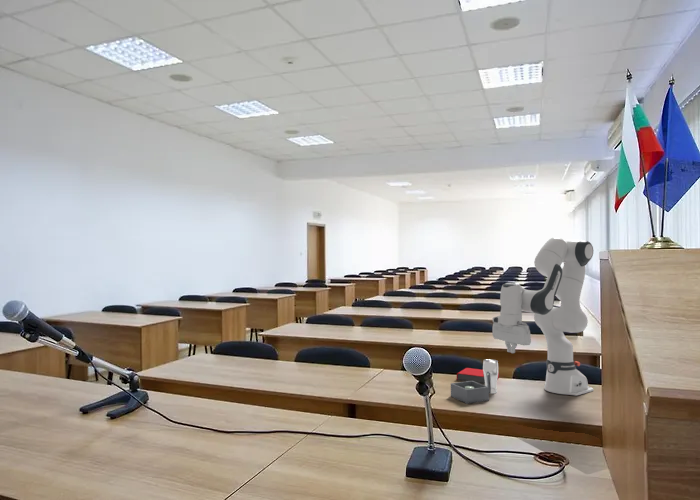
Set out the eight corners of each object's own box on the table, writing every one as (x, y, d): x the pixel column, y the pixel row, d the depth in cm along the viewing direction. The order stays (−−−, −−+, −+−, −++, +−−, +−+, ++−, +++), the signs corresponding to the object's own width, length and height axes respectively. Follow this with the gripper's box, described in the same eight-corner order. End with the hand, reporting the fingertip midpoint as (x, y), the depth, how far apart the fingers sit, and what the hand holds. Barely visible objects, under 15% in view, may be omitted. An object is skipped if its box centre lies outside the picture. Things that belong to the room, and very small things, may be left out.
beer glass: (499, 395, 221) (498, 362, 221) (483, 394, 222) (483, 362, 223) (497, 391, 228) (497, 359, 228) (482, 390, 229) (482, 358, 230)
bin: (472, 393, 224) (472, 380, 224) (488, 400, 213) (488, 387, 213) (450, 396, 219) (450, 383, 219) (466, 403, 208) (466, 389, 208)
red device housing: (499, 381, 247) (499, 371, 247) (491, 387, 235) (491, 377, 235) (465, 376, 257) (465, 367, 257) (456, 382, 245) (456, 373, 245)
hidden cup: (470, 395, 218) (470, 385, 219) (475, 397, 215) (475, 387, 215) (463, 396, 217) (463, 386, 217) (468, 398, 213) (468, 388, 213)
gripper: (534, 322, 197) (534, 356, 197) (501, 317, 216) (501, 347, 216) (522, 323, 195) (522, 357, 194) (489, 317, 214) (489, 348, 213)
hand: (511, 352), depth 205 cm, fingers closed
